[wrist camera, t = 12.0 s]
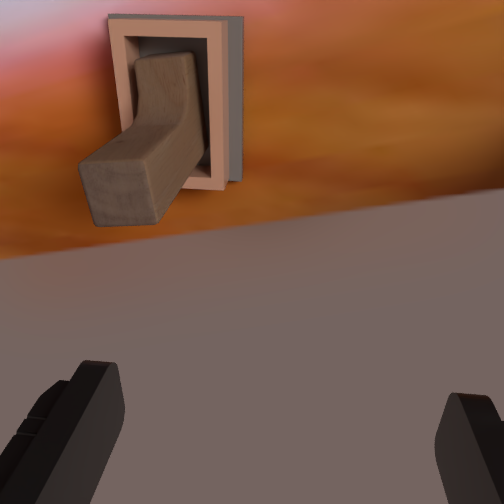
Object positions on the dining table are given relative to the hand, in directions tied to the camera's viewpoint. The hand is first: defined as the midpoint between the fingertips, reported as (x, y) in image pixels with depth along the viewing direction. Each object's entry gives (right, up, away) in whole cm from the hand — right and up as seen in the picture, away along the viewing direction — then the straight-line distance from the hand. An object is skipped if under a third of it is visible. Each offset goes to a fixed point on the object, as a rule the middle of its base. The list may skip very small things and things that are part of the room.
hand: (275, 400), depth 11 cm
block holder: (-7, +18, +32) cm, 38 cm away
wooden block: (-7, +18, +31) cm, 37 cm away
